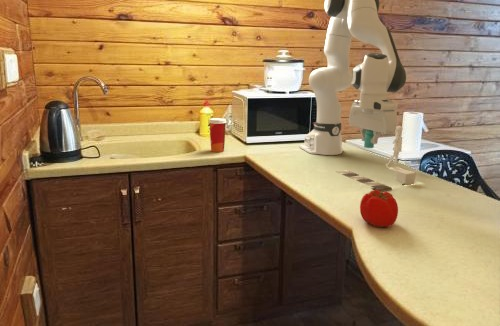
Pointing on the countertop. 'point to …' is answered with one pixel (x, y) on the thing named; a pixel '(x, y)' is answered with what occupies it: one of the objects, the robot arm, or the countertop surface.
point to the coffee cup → (217, 134)
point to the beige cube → (405, 177)
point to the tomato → (379, 208)
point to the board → (365, 181)
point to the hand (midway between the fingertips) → (369, 142)
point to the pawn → (368, 139)
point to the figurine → (396, 148)
